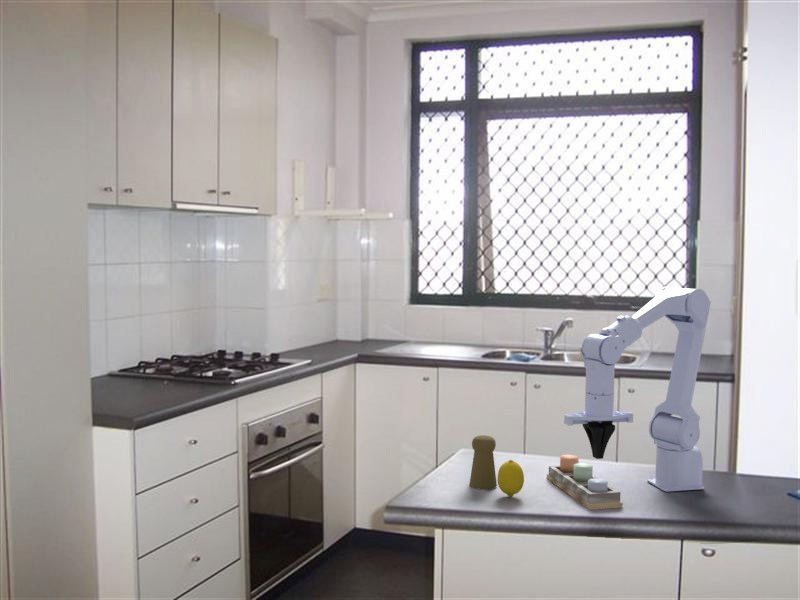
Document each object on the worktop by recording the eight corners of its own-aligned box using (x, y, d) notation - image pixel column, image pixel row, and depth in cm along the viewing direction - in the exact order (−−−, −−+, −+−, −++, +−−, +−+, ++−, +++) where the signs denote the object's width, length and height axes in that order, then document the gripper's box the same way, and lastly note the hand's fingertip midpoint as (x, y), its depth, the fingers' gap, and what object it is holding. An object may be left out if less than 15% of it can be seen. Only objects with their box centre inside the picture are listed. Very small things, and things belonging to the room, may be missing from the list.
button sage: (587, 476, 182) (587, 462, 182) (595, 481, 178) (595, 467, 178) (570, 477, 181) (570, 463, 181) (578, 482, 178) (578, 468, 177)
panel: (546, 478, 190) (546, 465, 190) (575, 476, 192) (576, 463, 191) (589, 509, 169) (590, 495, 168) (622, 507, 170) (622, 493, 170)
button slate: (601, 491, 176) (602, 477, 175) (610, 497, 172) (611, 483, 172) (584, 493, 175) (584, 479, 175) (592, 499, 171) (593, 484, 171)
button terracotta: (573, 467, 189) (573, 454, 189) (581, 472, 185) (581, 459, 185) (557, 468, 188) (557, 455, 188) (564, 473, 184) (564, 460, 184)
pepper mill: (465, 487, 183) (466, 438, 182) (474, 479, 188) (474, 432, 188) (492, 490, 181) (493, 440, 180) (499, 483, 186) (500, 434, 185)
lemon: (522, 502, 173) (523, 464, 173) (496, 500, 174) (496, 462, 174) (524, 493, 179) (525, 457, 178) (498, 492, 180) (498, 455, 179)
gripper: (622, 387, 177) (620, 450, 179) (558, 390, 174) (557, 454, 175) (639, 394, 171) (637, 459, 172) (573, 396, 167) (571, 463, 168)
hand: (597, 457), depth 173 cm, fingers closed
